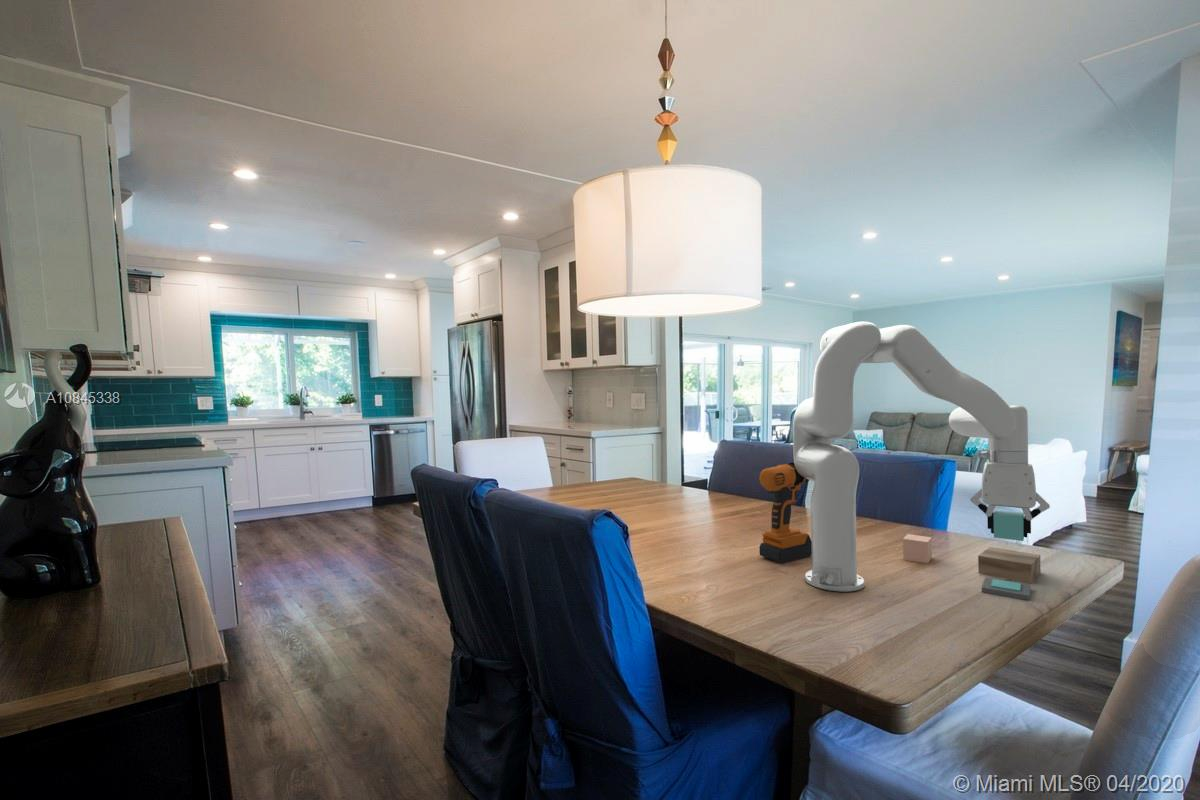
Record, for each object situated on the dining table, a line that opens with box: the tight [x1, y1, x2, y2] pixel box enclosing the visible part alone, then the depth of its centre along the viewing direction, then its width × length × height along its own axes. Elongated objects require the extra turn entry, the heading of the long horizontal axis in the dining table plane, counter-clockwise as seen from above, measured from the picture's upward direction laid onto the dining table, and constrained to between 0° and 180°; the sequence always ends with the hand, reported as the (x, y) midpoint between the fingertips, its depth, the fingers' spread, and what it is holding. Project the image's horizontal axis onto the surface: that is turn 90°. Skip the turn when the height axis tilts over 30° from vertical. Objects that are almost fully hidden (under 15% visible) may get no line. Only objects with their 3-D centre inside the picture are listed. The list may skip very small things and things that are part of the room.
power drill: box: [758, 461, 812, 564], centre depth 146 cm, size 22×7×25 cm, turn 122°
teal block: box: [993, 509, 1025, 542], centre depth 129 cm, size 6×6×6 cm
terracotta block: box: [902, 533, 933, 564], centre depth 141 cm, size 6×6×6 cm
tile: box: [981, 576, 1031, 601], centre depth 118 cm, size 8×8×1 cm
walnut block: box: [977, 546, 1041, 585], centre depth 129 cm, size 10×10×4 cm
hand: (1009, 533), depth 129 cm, fingers closed on teal block, 5 cm apart
